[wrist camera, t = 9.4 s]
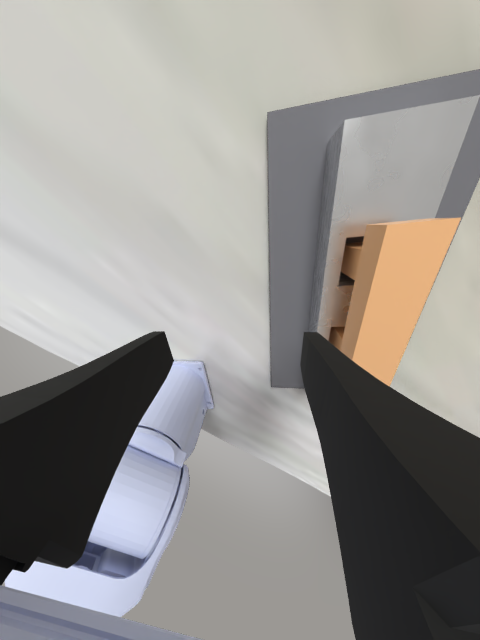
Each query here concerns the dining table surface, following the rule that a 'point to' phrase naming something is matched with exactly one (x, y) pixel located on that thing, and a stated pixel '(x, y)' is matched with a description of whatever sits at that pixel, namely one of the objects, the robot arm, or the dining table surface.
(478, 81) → the mat
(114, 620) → the robot arm
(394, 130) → the rail
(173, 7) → the dining table surface
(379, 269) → the orange foam brick
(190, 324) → the dining table surface
